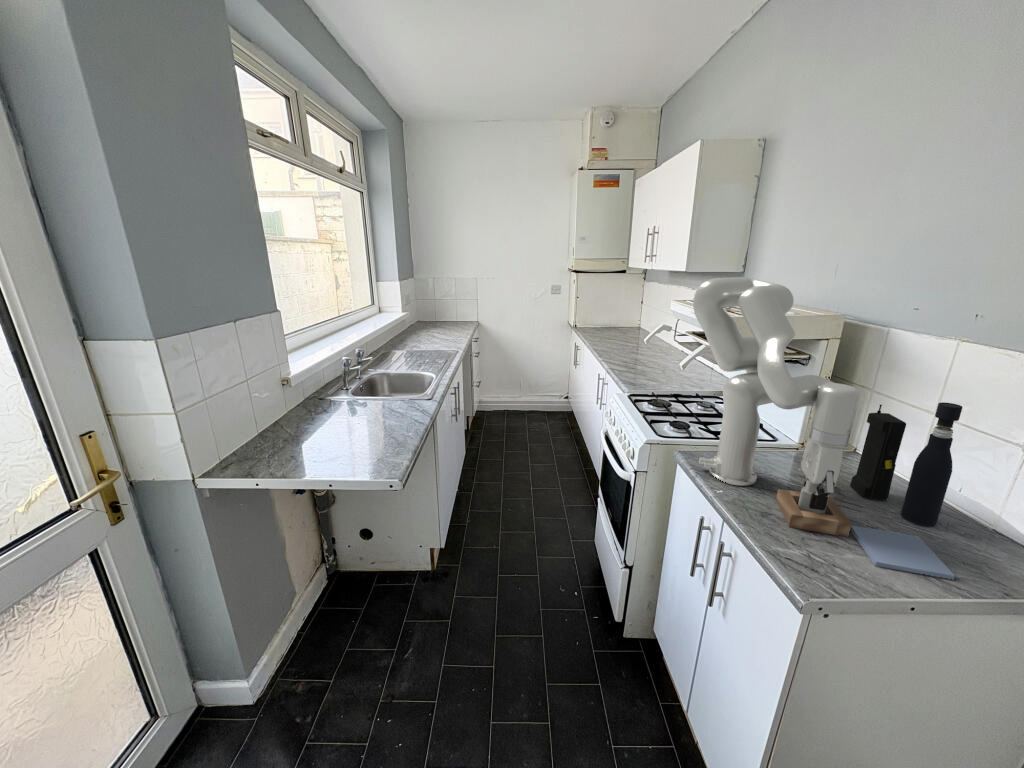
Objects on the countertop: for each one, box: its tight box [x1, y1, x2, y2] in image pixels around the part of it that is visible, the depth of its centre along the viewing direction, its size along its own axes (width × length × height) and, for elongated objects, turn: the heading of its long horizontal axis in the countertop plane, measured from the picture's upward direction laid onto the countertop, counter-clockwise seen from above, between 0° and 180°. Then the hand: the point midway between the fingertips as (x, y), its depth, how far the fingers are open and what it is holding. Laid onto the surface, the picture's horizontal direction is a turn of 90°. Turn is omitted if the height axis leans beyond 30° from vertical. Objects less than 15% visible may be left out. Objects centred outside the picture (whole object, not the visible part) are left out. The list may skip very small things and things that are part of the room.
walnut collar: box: [775, 488, 852, 538], centre depth 103 cm, size 12×12×4 cm
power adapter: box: [798, 480, 829, 514], centre depth 101 cm, size 3×5×12 cm, turn 42°
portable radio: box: [849, 404, 907, 501], centre depth 109 cm, size 8×6×25 cm
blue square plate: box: [849, 525, 956, 581], centre depth 91 cm, size 13×13×1 cm
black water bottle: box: [900, 402, 963, 528], centre depth 98 cm, size 6×6×30 cm
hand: (812, 501), depth 102 cm, fingers closed on power adapter, 4 cm apart
